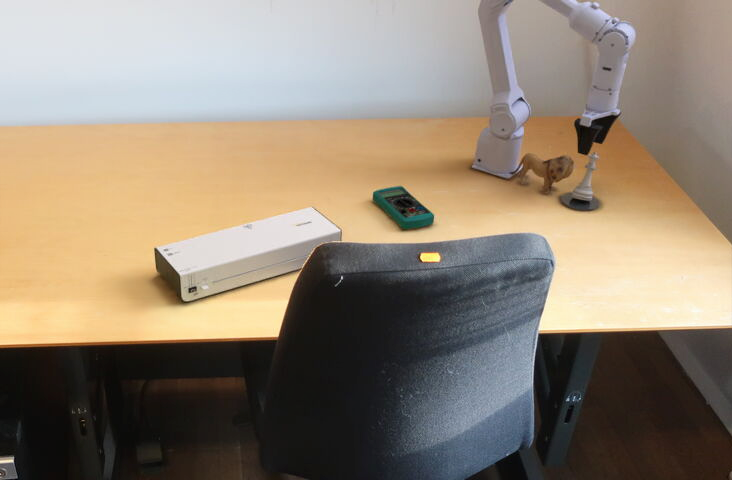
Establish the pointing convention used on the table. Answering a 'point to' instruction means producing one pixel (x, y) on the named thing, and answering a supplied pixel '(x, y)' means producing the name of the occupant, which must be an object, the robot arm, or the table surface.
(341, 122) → the table surface
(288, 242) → the laminator
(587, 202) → the coaster
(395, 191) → the digital multimeter
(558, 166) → the lion figurine
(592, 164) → the chess piece
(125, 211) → the table surface
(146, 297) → the table surface
